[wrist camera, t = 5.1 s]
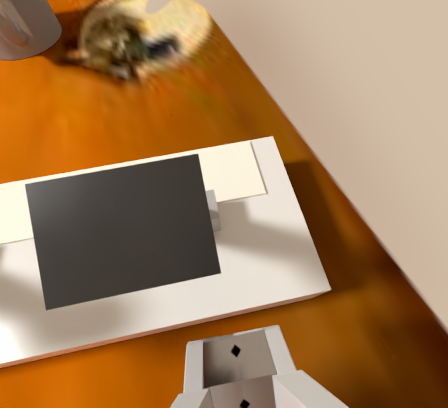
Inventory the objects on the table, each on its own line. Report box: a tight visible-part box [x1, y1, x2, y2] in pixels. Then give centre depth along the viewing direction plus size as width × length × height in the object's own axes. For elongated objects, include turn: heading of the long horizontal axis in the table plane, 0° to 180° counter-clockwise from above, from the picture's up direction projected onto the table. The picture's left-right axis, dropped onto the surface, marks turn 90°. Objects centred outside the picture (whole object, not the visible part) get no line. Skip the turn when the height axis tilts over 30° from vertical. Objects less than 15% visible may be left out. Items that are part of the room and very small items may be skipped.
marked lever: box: [25, 154, 221, 310], centre depth 11 cm, size 3×4×11 cm
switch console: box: [0, 136, 331, 368], centre depth 17 cm, size 12×30×6 cm, turn 101°
